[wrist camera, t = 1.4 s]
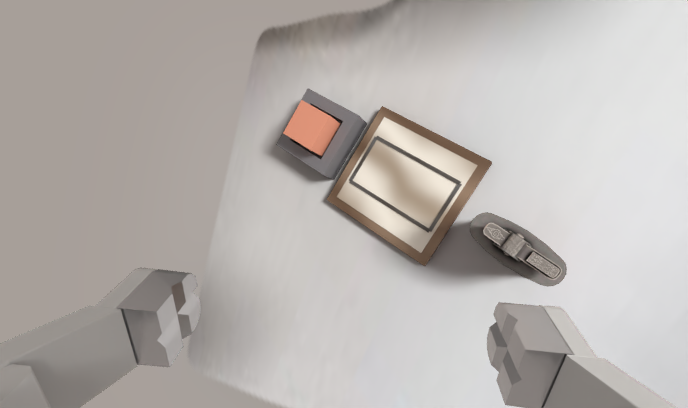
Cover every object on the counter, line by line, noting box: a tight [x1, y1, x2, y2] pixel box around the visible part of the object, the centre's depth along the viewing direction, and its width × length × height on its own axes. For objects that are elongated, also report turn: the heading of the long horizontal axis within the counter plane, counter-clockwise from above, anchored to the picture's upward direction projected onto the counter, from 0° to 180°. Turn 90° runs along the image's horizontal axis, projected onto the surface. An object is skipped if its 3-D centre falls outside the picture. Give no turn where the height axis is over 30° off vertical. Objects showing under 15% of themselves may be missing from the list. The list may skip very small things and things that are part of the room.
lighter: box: [470, 213, 567, 286], centre depth 31 cm, size 8×3×10 cm, turn 51°
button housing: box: [276, 89, 367, 179], centre depth 44 cm, size 8×8×3 cm
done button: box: [283, 100, 341, 156], centre depth 41 cm, size 4×4×3 cm
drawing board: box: [327, 106, 492, 266], centre depth 40 cm, size 13×14×1 cm
